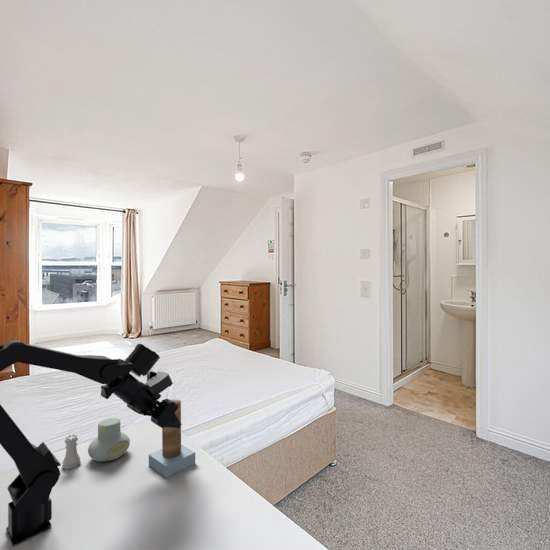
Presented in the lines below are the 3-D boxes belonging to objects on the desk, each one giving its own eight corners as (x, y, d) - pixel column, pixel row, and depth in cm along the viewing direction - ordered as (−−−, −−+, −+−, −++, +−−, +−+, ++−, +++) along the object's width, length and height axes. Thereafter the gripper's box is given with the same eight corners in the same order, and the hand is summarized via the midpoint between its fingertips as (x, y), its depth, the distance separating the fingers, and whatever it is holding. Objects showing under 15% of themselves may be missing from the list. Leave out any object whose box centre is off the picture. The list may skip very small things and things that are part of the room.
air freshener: (100, 469, 90) (99, 432, 90) (82, 461, 94) (82, 426, 95) (134, 451, 100) (134, 417, 100) (117, 444, 104) (117, 412, 104)
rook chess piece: (84, 461, 94) (84, 433, 94) (73, 470, 90) (73, 440, 90) (69, 460, 95) (69, 432, 95) (57, 469, 90) (57, 440, 90)
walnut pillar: (174, 459, 89) (174, 406, 90) (158, 456, 91) (158, 405, 91) (184, 450, 94) (184, 400, 94) (169, 447, 95) (169, 398, 96)
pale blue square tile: (166, 477, 86) (165, 466, 86) (148, 465, 92) (148, 454, 92) (195, 463, 93) (195, 452, 93) (177, 452, 99) (177, 442, 99)
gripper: (171, 370, 82) (208, 403, 90) (137, 359, 95) (173, 388, 103) (139, 412, 77) (182, 443, 84) (109, 393, 89) (148, 422, 97)
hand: (171, 421), depth 92 cm, fingers open, 9 cm apart
